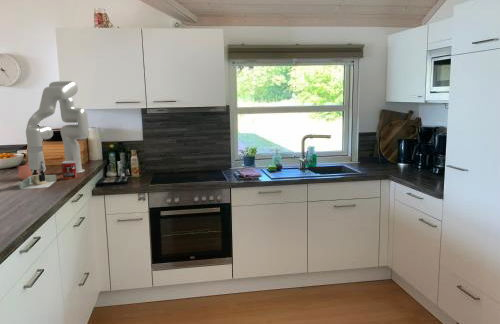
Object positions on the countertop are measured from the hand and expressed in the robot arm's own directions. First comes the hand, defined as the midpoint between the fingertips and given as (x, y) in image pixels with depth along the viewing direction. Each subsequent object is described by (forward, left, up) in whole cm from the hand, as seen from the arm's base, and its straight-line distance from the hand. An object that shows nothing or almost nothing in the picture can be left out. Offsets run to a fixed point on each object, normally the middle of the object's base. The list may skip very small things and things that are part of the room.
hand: (39, 180), depth 237 cm
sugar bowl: (-22, -13, -3) cm, 26 cm away
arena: (+2, 0, -3) cm, 4 cm away
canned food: (-12, +14, -3) cm, 19 cm away
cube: (0, 0, -2) cm, 2 cm away
